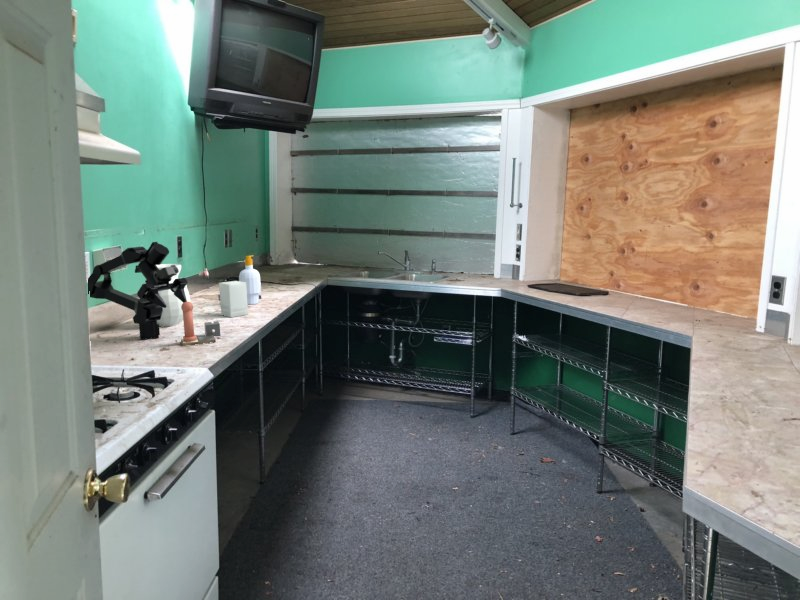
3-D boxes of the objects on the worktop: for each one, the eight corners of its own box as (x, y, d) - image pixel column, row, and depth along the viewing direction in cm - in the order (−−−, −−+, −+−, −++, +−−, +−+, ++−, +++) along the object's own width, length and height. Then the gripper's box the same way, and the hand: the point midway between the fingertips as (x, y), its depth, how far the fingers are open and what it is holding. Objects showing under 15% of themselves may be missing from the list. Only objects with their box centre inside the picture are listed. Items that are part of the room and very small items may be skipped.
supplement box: (249, 314, 246) (246, 282, 244) (231, 317, 240) (228, 284, 237) (238, 312, 252) (236, 280, 250) (220, 315, 246) (218, 282, 243)
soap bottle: (266, 302, 275) (263, 255, 271) (250, 306, 266) (247, 257, 262) (251, 301, 280) (249, 254, 276) (236, 304, 272) (233, 256, 268)
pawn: (182, 342, 194) (179, 303, 191) (184, 339, 198) (180, 300, 195) (195, 341, 195) (192, 302, 192) (196, 338, 199) (193, 300, 196)
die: (206, 338, 203) (205, 323, 202) (205, 335, 208) (204, 321, 207) (220, 336, 206) (219, 322, 205) (218, 333, 211) (217, 319, 210)
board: (182, 346, 192) (182, 343, 192) (181, 341, 199) (180, 338, 198) (215, 342, 197) (215, 339, 196) (213, 338, 203) (212, 335, 203)
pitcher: (182, 328, 220) (176, 267, 215) (136, 329, 220) (130, 268, 215) (198, 319, 238) (194, 262, 234) (156, 319, 238) (151, 263, 234)
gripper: (139, 261, 188) (164, 294, 185) (182, 256, 205) (206, 286, 202) (126, 282, 193) (150, 315, 190) (169, 276, 209) (192, 306, 207)
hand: (176, 305), depth 197 cm, fingers open, 9 cm apart
